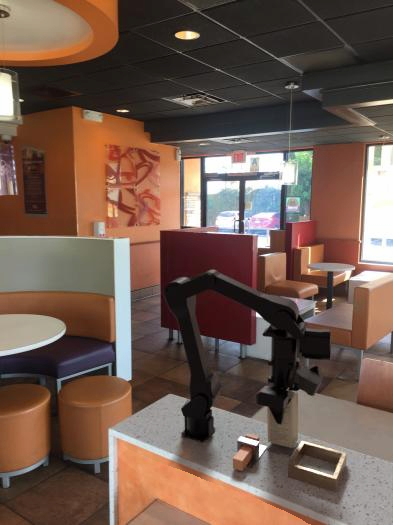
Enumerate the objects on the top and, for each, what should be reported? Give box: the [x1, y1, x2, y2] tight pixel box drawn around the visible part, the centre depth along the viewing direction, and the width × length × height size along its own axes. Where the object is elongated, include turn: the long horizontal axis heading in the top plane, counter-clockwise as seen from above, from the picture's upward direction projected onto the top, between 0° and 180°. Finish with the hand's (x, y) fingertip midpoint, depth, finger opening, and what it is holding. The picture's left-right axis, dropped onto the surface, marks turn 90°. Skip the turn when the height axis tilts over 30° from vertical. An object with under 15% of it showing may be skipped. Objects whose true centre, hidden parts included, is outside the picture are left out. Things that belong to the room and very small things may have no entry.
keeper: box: [236, 436, 268, 469], centre depth 102 cm, size 5×9×4 cm, turn 150°
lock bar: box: [232, 432, 260, 472], centre depth 99 cm, size 3×9×4 cm, turn 150°
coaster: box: [266, 441, 299, 458], centre depth 105 cm, size 6×6×1 cm
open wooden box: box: [286, 440, 348, 493], centre depth 95 cm, size 10×10×3 cm
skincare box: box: [266, 389, 299, 448], centre depth 103 cm, size 6×4×12 cm
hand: (282, 418), depth 103 cm, fingers closed on skincare box, 4 cm apart
